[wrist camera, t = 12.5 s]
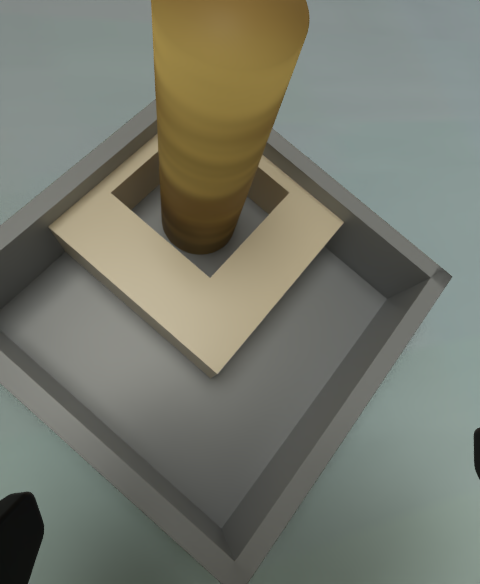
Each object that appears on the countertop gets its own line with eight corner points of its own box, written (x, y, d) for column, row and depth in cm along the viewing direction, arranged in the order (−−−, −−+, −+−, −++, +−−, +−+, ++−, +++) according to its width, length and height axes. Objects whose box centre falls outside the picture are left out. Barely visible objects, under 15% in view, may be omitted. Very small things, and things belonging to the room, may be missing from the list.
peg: (229, 261, 22) (300, 87, 10) (154, 246, 21) (134, 45, 9) (240, 195, 23) (316, -31, 11) (169, 180, 22) (168, -75, 10)
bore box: (220, 549, 19) (237, 598, 14) (-28, 325, 20) (-92, 300, 15) (396, 302, 24) (452, 276, 19) (191, 131, 25) (196, 65, 20)
